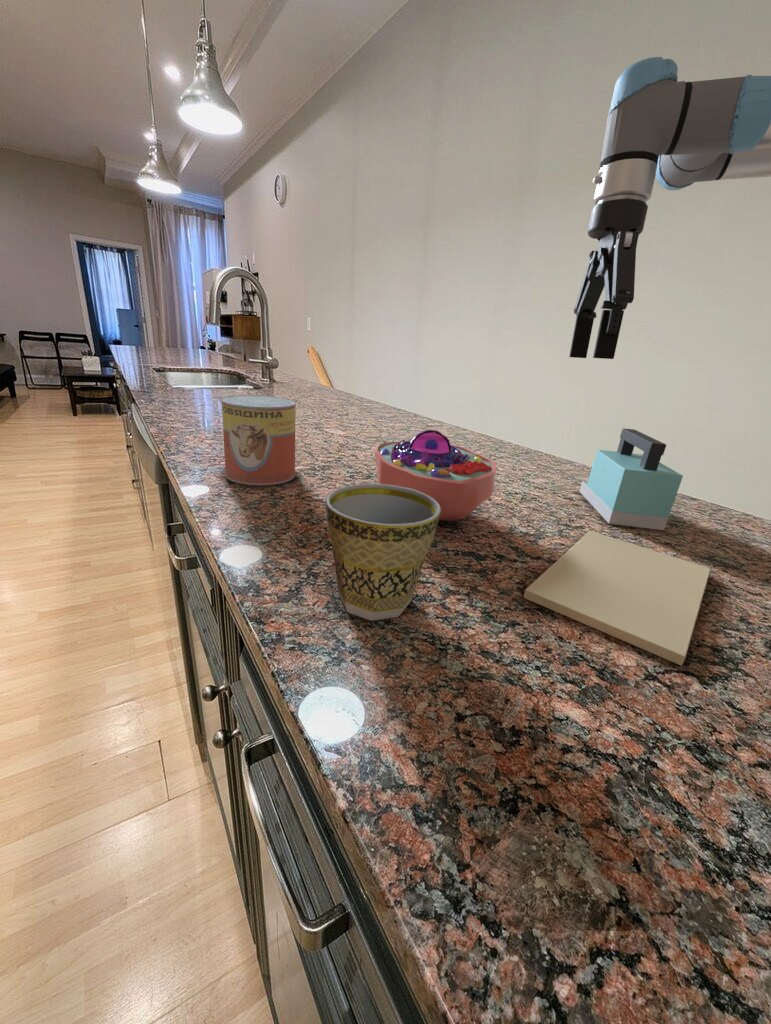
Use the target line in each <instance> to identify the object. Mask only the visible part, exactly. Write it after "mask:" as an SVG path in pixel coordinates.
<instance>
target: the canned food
mask: <svg viewBox="0 0 771 1024" xmlns="http://www.w3.org/2000/svg"><path fill="white" fill-rule="evenodd" d="M220 402H221V413H222V415H221V417H222V433H223V434H222V436H223V437H222V438H223V452H224V453H223V455H224V457H223V458H224V471H225V472H224V477H225V478H226V479H227V480H229V481H230V482H233V483H237V484H240V485H247V486H274V485H281V484H285V483H288V482H290V481H292V480H294V479H295V477H296V414H297V413H296V410H297V409H296V406H297V402H296V401H295V400H293V399H289V398H285V397H279V396H272V395H257V394H256V395H255V394H242V395H241V394H239V395H229V396H224V397H222V398H221V399H220Z"/></svg>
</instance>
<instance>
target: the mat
mask: <svg viewBox="0 0 771 1024" xmlns="http://www.w3.org/2000/svg"><path fill="white" fill-rule="evenodd" d="M710 573H711V568H710V567H708V566H705V565H701V564H698V563H695V562H692V561H688V560H686V559H682V558H679V557H675V556H673V555H669V554H666V553H662V552H660V551H657V550H654V549H650V548H647V547H644V546H641V545H638V544H634V543H632V542H627V541H626V540H622V539H618V538H615V537H613V536H609V535H606V534H603V533H599V532H596V531H593V530H588V532H587V533H585V534H584V535H583V536H582V537H581V538H580V539H579V540H578V541H577V542H575V543H574V544H573V546H571V547H570V548H569V549H568V550H567V551H566V552H565V553H563V554H562V555H561V556H560V557H559V558H558V559H557V560H556V561H555V562H554V563H553V564H551V565H550V566H549V567H548V568H547V569H546V570H545V571H544V572H543V573H542V574H541V575H540V576H538V577H537V578H536V579H535V580H534V581H533V582H532V583H531V584H530V585H528V586H527V587H526V588H525V589H524V593H523V598H524V599H525V600H527V601H530V602H533V603H535V604H537V605H540V606H542V607H544V608H546V609H548V610H551V611H553V612H556V613H558V614H560V615H563V616H565V617H567V618H570V619H571V620H574V621H576V622H579V623H581V624H583V625H586V626H588V627H590V628H593V629H595V630H598V631H600V632H602V633H605V634H607V635H609V636H612V637H614V638H616V639H618V640H621V641H623V642H625V643H628V644H630V645H632V646H634V647H637V648H639V649H642V650H644V651H646V652H648V653H651V654H653V655H655V656H657V657H660V658H662V659H665V660H667V661H669V662H671V663H674V664H676V665H678V666H683V664H684V662H685V660H686V657H687V654H688V650H689V646H690V643H691V639H692V637H693V634H694V633H693V632H694V629H695V625H696V623H697V619H698V615H699V613H700V608H701V605H702V601H703V598H704V594H705V590H706V587H707V584H708V581H709V577H710Z"/></svg>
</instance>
